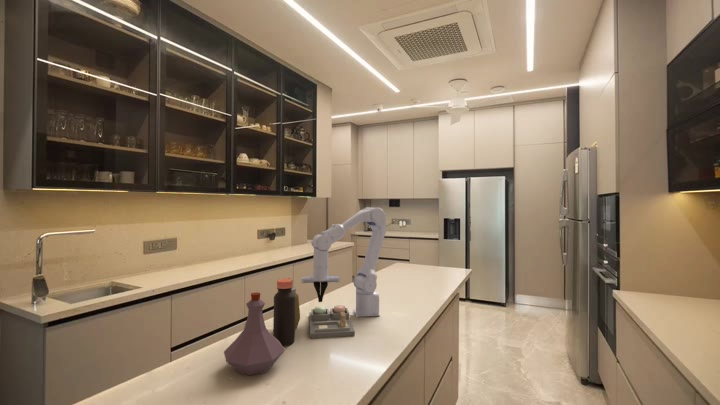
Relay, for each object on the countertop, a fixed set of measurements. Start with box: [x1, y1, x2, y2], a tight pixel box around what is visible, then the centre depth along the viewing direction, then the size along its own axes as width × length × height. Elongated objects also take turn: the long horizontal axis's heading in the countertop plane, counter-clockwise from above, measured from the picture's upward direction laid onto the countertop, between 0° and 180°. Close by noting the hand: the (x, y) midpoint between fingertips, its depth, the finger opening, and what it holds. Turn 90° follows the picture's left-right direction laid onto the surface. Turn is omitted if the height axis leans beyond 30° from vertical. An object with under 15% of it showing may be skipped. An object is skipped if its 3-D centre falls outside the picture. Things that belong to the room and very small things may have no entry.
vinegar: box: [272, 278, 296, 347], centre depth 106 cm, size 7×7×20 cm
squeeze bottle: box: [287, 277, 301, 330], centre depth 118 cm, size 8×8×18 cm
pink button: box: [333, 305, 346, 314], centre depth 127 cm, size 4×4×2 cm
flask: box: [223, 292, 286, 376], centre depth 90 cm, size 16×16×20 cm
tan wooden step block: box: [338, 312, 348, 327], centre depth 116 cm, size 3×5×4 cm, turn 10°
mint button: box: [314, 305, 327, 315], centre depth 125 cm, size 4×4×2 cm
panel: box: [308, 307, 356, 339], centre depth 121 cm, size 15×22×4 cm
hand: (320, 301), depth 125 cm, fingers closed
